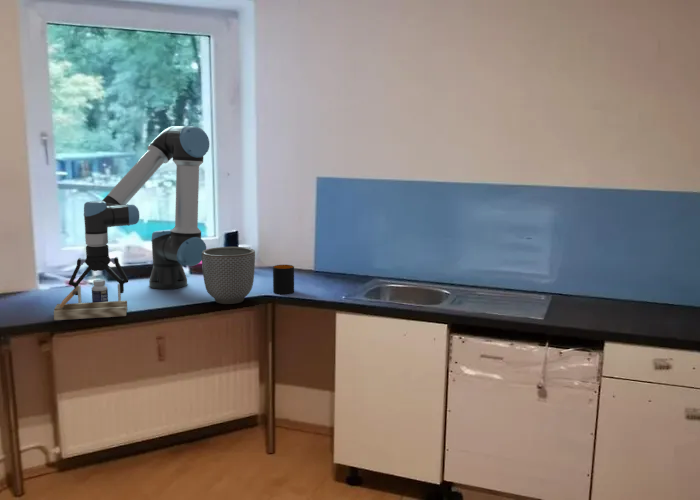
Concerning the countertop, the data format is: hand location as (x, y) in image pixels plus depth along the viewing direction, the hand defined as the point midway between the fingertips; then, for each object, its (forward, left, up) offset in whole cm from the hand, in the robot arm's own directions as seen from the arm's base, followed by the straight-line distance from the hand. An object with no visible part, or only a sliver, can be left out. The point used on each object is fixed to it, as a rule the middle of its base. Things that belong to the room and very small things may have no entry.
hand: (100, 302), depth 249 cm
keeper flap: (+8, +10, +5) cm, 14 cm away
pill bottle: (0, 0, -2) cm, 2 cm away
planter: (-46, +2, -2) cm, 46 cm away
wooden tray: (+2, +10, -1) cm, 10 cm away
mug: (-68, -9, -2) cm, 69 cm away
